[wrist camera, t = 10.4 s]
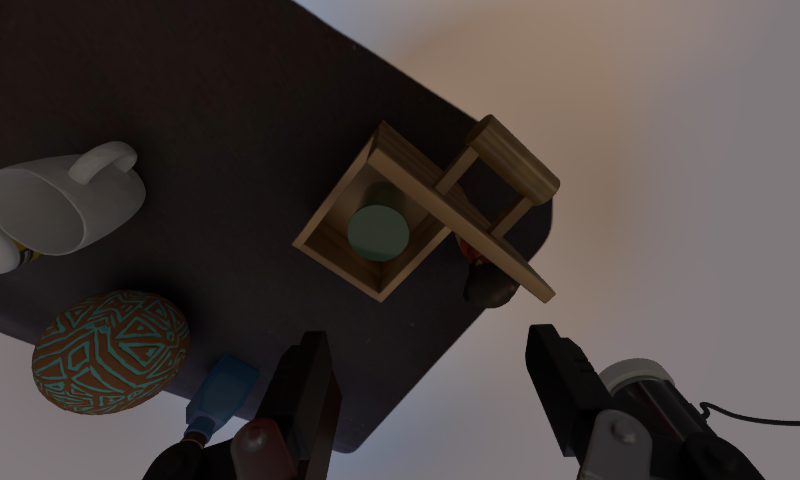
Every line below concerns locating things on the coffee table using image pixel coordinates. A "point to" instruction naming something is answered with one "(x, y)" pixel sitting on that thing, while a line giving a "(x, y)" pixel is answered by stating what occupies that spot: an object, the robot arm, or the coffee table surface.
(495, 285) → the figurine
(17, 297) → the coffee table surface
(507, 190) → the coffee table surface
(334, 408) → the tall pedestal column
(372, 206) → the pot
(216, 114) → the coffee table surface
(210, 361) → the coffee table surface
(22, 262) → the pill bottle
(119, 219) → the mug
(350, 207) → the chest
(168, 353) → the decorative sphere
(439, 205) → the lid
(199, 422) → the perfume bottle
